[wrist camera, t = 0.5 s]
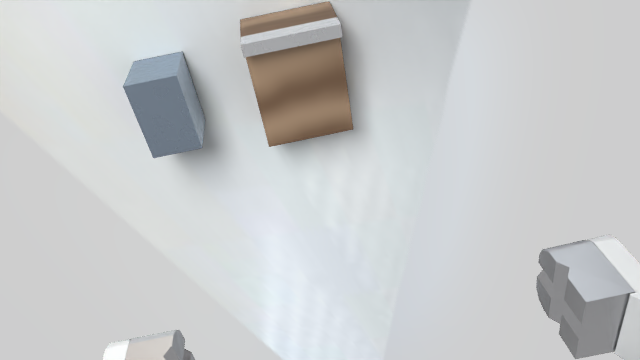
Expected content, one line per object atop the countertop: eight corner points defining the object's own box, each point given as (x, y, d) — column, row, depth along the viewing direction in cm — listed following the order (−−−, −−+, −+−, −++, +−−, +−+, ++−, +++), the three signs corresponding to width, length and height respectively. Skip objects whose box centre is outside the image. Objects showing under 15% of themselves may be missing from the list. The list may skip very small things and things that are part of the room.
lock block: (133, 61, 52) (123, 86, 47) (182, 51, 52) (176, 75, 47) (160, 129, 57) (153, 158, 52) (205, 119, 57) (202, 147, 52)
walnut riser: (240, 19, 51) (240, 44, 45) (329, 1, 51) (340, 24, 45) (266, 124, 58) (270, 157, 52) (345, 107, 58) (356, 138, 52)
